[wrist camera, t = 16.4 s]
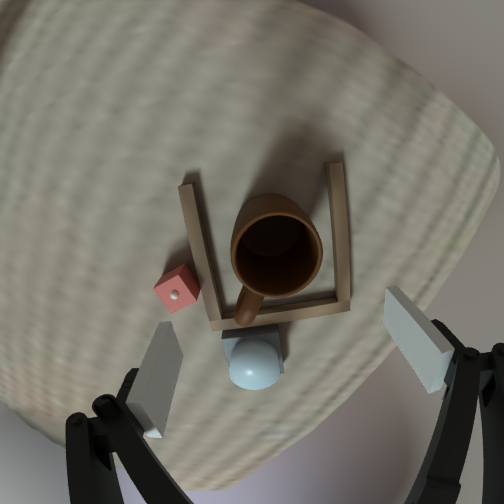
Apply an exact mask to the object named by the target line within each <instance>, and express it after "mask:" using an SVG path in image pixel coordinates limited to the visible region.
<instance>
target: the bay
mask: <svg viewBox="0 0 504 504" xmlns="http://www.w3.org/2000/svg"><path fill="white" fill-rule="evenodd" d="M325 167H326V176H327V185H328V194H329V204H330V215H331V227H332V241H333V257H334V277H335V297H329V298H323V299H318V300H312V301H306V302H299V303H293V304H287V305H280V306H273V307H266V308H260V309H259V312H258V314H257V316H256V318H255V319H254V321H253V322H252V324H250V325H248V326H245V327H253V326H260V325H268V324H275V323H281V322H288V321H294V320H301V319H307V318H313V317H318V316H324V315H330V314H335V313H340V312H346V311H350V257H349V235H348V218H347V205H346V193H345V182H344V173H343V164H342V162H330V163H325ZM178 190H179V195H180V200H181V205H182V210H183V214H184V219H185V224H186V228H187V233H188V237H189V242H190V246H191V251H192V255H193V259H194V263H195V267H196V272H197V276H198V280H199V284H200V288H201V292H202V296H203V299H204V303H205V307H206V311H207V315H208V318H209V322H210V326H211V329H212V331H219V330H228V329H237V328H245V327H243V326H240V325H238V324H237V323H236V322H235V319H234V313H235V312H229V313H222V309H221V305H220V300H219V296H218V292H217V287H216V283H215V279H214V274H213V270H212V265H211V261H210V256H209V251H208V247H207V242H206V237H205V233H204V228H203V223H202V218H201V213H200V208H199V203H198V198H197V193H196V187H195V182H193V183H188V184H183V185H180V186H178Z"/></svg>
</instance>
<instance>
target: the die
mask: <svg viewBox="0 0 504 504" xmlns="http://www.w3.org/2000/svg"><path fill="white" fill-rule="evenodd" d="M153 289H154V290H155V292H156V293H157V294H158V296H159V297H160V299H161V300H162V301H163V303H164V304H165V305H166V307H167V308H168V310H169V311H170V312H171V313H173V312H175V311H177V310H179V309H181V308H183V307H185V306H187V305H189V304H191V303H193V302H195V301H197V298H198V295H199V292H200V290H201V288H200V284H199V282H198V281H197V279H196V278H195V276H194V275H193V273H192V272H191V270H190V269H189V267H188V266H187V264H186V263H184V264H182V265H180V266H178V267H176V268H175V269H173V270H171V271H169V272H167V273H166V274H164V275H162V276H161V278H160V279H159V281H158V282H157V284H156V285H155V287H154V288H153Z"/></svg>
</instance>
